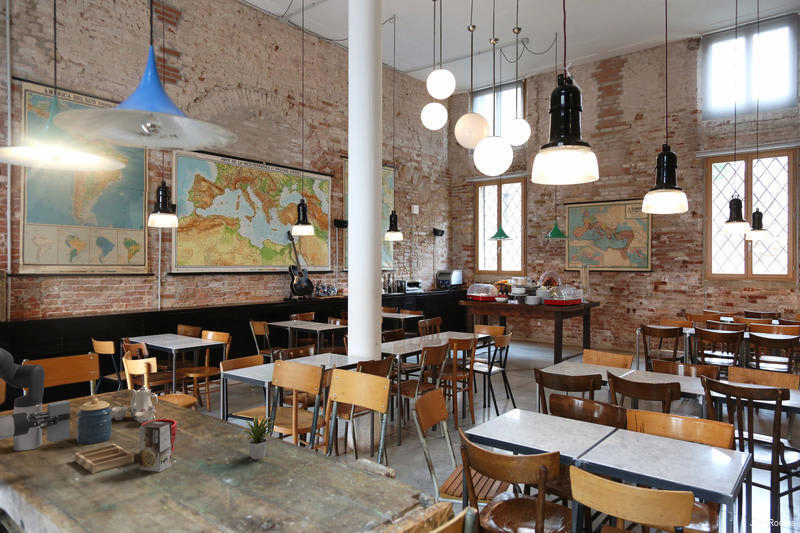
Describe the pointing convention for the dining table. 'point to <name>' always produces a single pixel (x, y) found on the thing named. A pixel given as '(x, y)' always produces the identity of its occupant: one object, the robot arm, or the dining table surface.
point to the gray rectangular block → (62, 427)
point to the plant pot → (173, 429)
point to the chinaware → (138, 406)
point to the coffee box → (155, 446)
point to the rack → (104, 458)
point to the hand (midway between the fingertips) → (67, 414)
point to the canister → (94, 422)
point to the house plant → (258, 437)
